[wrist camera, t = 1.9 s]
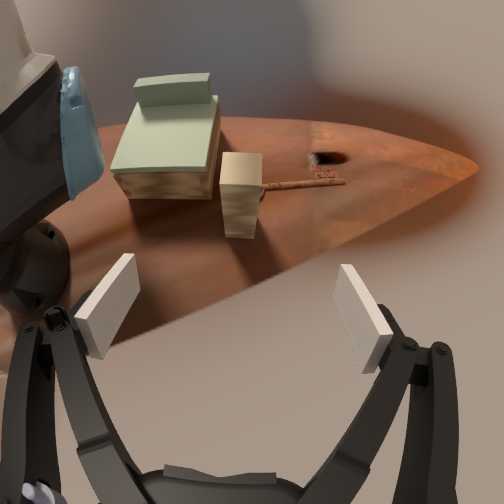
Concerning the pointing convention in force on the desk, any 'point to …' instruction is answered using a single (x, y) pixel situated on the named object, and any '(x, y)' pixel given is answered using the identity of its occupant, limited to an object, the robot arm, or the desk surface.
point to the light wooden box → (174, 178)
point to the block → (240, 193)
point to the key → (317, 182)
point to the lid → (168, 126)
